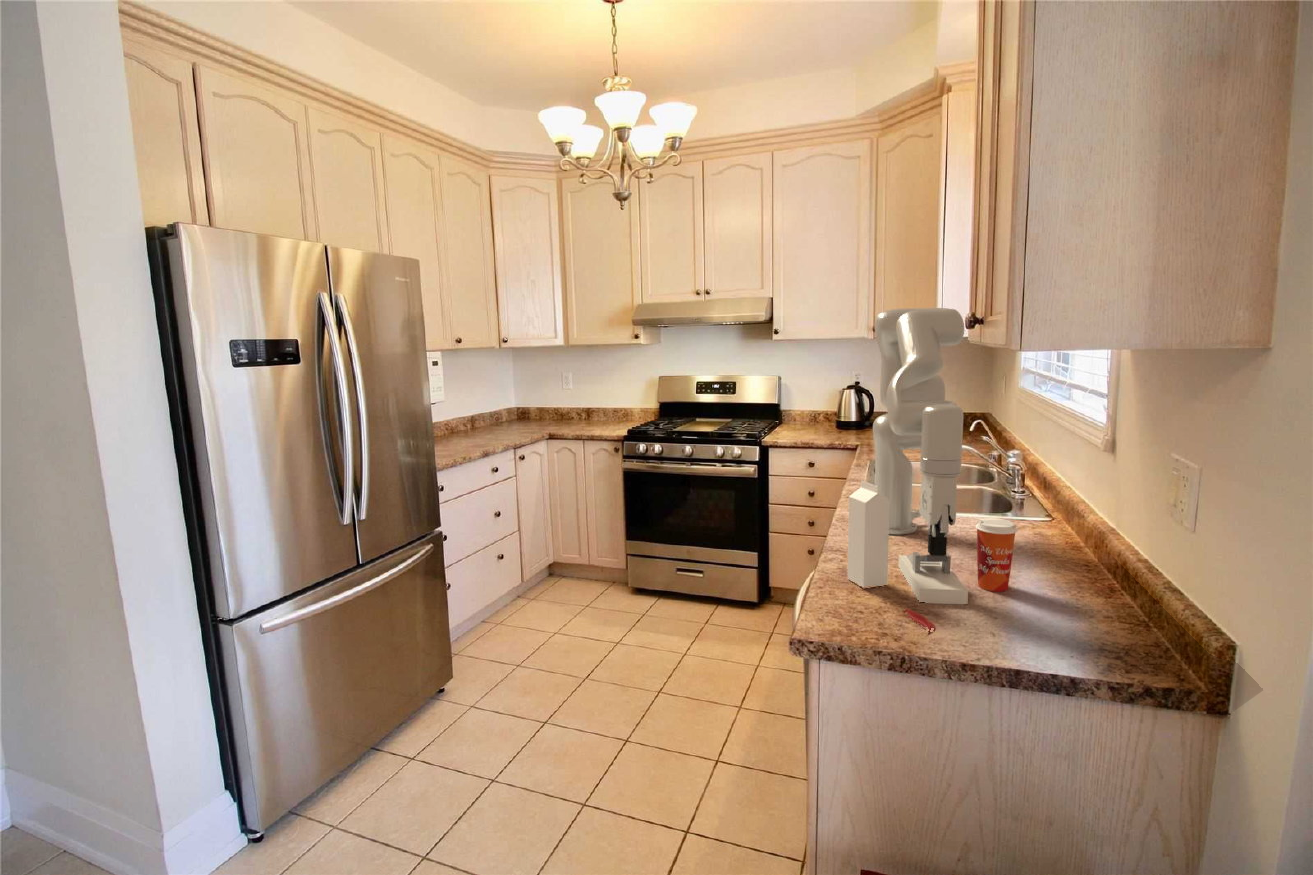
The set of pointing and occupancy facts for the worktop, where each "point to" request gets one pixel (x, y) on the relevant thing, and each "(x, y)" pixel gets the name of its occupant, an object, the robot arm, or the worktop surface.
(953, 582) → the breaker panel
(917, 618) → the cayenne pepper
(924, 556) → the breaker paddle
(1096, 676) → the worktop surface
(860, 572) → the milk
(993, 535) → the paper cup
